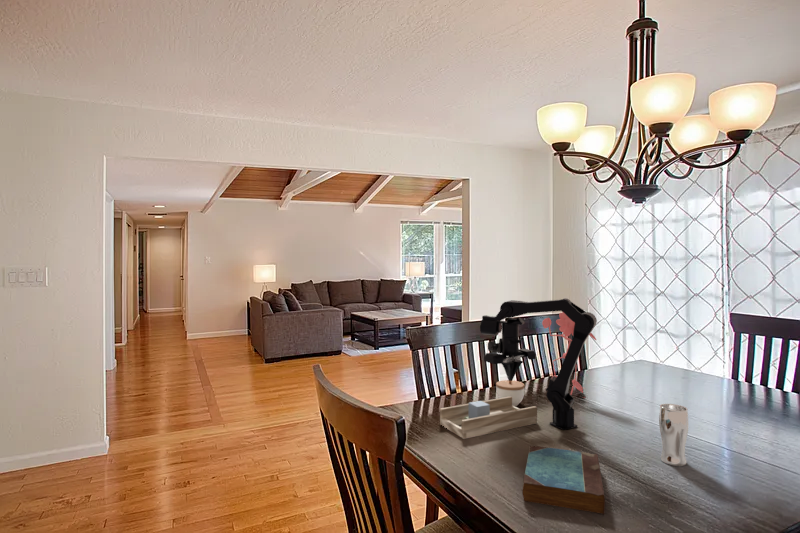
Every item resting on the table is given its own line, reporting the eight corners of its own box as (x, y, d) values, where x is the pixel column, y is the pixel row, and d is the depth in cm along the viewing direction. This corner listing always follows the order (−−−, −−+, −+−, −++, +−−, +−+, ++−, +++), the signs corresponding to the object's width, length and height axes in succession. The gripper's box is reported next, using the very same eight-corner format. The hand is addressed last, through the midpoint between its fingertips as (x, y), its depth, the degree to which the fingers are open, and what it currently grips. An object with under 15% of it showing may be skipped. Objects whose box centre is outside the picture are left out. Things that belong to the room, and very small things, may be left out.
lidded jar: (522, 399, 186) (522, 376, 186) (526, 408, 175) (526, 383, 175) (494, 399, 187) (494, 375, 187) (497, 407, 176) (497, 382, 176)
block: (489, 419, 156) (489, 404, 156) (477, 422, 154) (477, 406, 154) (480, 415, 160) (480, 400, 160) (468, 417, 158) (468, 402, 158)
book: (605, 517, 102) (605, 494, 102) (522, 503, 108) (522, 482, 108) (598, 472, 124) (598, 453, 124) (529, 463, 130) (529, 445, 130)
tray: (537, 423, 159) (537, 407, 159) (463, 438, 146) (463, 421, 146) (509, 411, 172) (509, 396, 172) (440, 424, 159) (439, 408, 158)
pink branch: (588, 400, 184) (589, 311, 184) (534, 386, 205) (535, 306, 205) (609, 394, 194) (610, 309, 194) (554, 381, 214) (555, 304, 214)
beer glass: (661, 454, 134) (661, 401, 134) (690, 460, 130) (690, 406, 129) (656, 462, 129) (656, 407, 128) (686, 469, 124) (686, 413, 124)
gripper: (515, 331, 177) (515, 372, 177) (474, 335, 168) (475, 378, 169) (536, 335, 167) (536, 379, 167) (494, 339, 158) (494, 385, 159)
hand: (510, 380), depth 165 cm, fingers closed
